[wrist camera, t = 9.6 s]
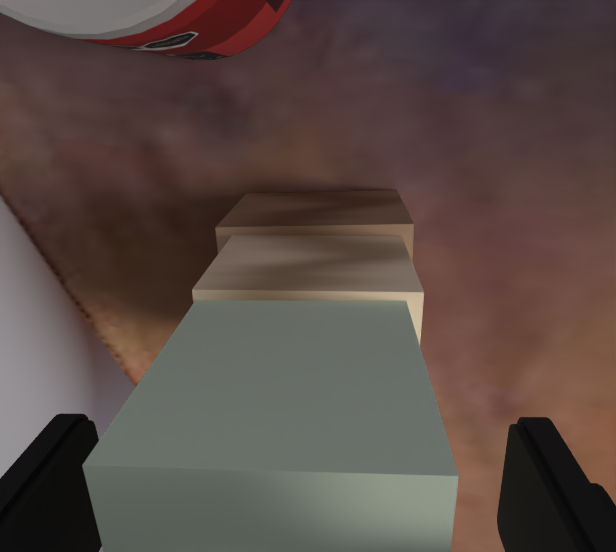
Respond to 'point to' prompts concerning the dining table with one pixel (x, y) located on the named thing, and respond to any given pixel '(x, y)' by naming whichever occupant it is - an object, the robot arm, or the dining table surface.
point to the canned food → (155, 23)
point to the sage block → (279, 436)
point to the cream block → (319, 215)
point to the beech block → (314, 271)
